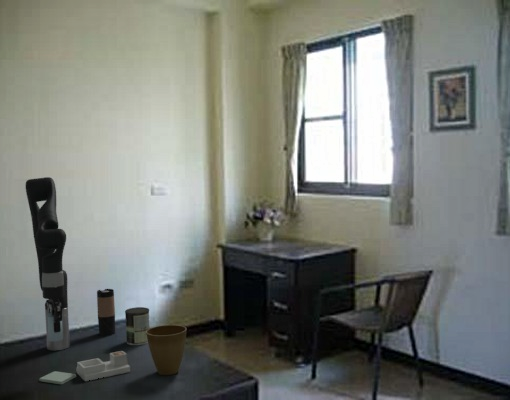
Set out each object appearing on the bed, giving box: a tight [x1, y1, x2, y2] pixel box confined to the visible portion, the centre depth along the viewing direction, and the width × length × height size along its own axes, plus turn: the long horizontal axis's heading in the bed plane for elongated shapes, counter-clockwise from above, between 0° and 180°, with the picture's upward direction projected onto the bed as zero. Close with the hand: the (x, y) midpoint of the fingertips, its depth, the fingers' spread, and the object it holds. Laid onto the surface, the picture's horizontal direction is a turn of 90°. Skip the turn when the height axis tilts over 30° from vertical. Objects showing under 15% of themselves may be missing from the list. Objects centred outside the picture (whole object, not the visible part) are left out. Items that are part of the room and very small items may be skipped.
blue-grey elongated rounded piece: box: [47, 312, 63, 341], centre depth 225 cm, size 5×5×10 cm
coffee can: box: [124, 306, 150, 346], centre depth 269 cm, size 10×10×14 cm
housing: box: [75, 350, 131, 382], centre depth 231 cm, size 11×17×6 cm, turn 122°
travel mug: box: [96, 288, 116, 337], centre depth 283 cm, size 8×8×20 cm
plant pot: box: [146, 324, 187, 376], centre depth 230 cm, size 15×15×16 cm
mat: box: [38, 371, 77, 385], centre depth 226 cm, size 10×8×1 cm
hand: (55, 330), depth 225 cm, fingers closed on blue-grey elongated rounded piece, 5 cm apart
